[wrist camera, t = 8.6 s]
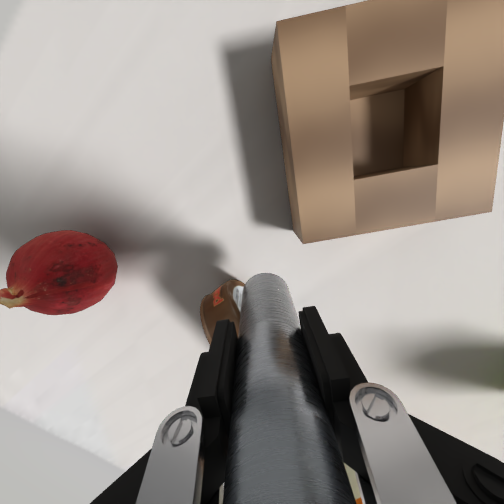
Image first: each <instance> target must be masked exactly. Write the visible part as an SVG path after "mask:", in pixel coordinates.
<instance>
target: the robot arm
mask: <svg viewBox="0 0 504 504" xmlns="http://www.w3.org/2000/svg"><path fill="white" fill-rule="evenodd" d="M299 319H300V326H301V331H302V335H303V338H304V341H305V344H306V347H307V351H308V354H309V357H310V360H311V363H312V366H313V370H314V373H315V376H316V379H317V382H318V386H319V389H320V392H321V395H322V398H323V402H324V405H325V408H326V410H327V413H328V415H329V418H330V422H331V425H332V428H333V431H334V434H335V437H336V440H337V444H338V447H339V450H340V453H341V456H342V459H343V462H344V463H345V464H346V465H348V466H349V467H350V468H352V469H353V470H354V471H355V476H356V480H357V483H358V487H359V491H360V495H361V499H362V503H363V504H504V463H503V462H501V461H499V460H498V459H496V458H494V457H492V456H490V455H488V454H486V453H484V452H482V451H480V450H478V449H476V448H474V447H472V446H470V445H468V444H467V443H465V442H463V441H461V440H459V439H457V438H455V437H453V436H451V435H449V434H447V433H445V432H443V431H441V430H439V429H437V428H435V427H433V426H431V425H429V424H427V423H425V422H423V421H421V420H419V419H417V418H415V417H413V416H411V415H409V414H408V413H407V411H406V410H405V408H404V406H403V404H402V402H401V401H400V399H399V398H398V397H397V395H396V394H394V393H393V392H392V391H391V390H390V389H388V388H386V387H384V386H382V385H379V384H376V383H368V381H367V379H366V378H365V376H364V374H363V372H362V370H361V369H360V367H359V365H358V363H357V361H356V360H355V358H354V356H353V354H352V353H351V351H350V349H349V347H348V345H347V344H346V342H345V340H344V338H343V337H342V335H341V334H340V333H335V334H328V332H327V330H326V328H325V326H324V324H323V322H322V319H321V317H320V315H319V313H318V311H317V309H316V307H315V306H311V307H304V308H303V311H299ZM237 345H238V336H237V332H236V328H235V324H234V322H230V320H229V319H225V320H219V321H217V322H216V326H215V329H214V333H213V337H212V341H211V345H210V349H209V352H204V353H202V354H201V355H200V358H199V361H198V365H197V368H196V371H195V375H194V378H193V382H192V385H191V388H190V392H189V395H188V398H187V402H186V405H185V407H181V408H178V409H176V410H175V411H173V412H171V413H170V414H169V415H168V416H167V417H166V418H165V419H164V420H163V421H162V423H161V424H160V426H159V428H158V430H157V433H156V436H155V440H154V443H153V446H152V449H151V450H149V451H148V452H147V453H146V454H145V455H144V456H143V457H142V458H140V459H139V460H138V461H137V462H136V463H135V464H134V465H133V466H131V467H130V468H129V469H128V470H127V471H126V472H125V473H124V474H122V475H121V476H120V477H119V478H118V479H117V480H116V481H115V482H113V483H112V484H111V485H110V486H109V487H108V488H107V489H106V490H104V491H103V493H101V494H100V495H99V496H98V497H97V498H96V499H94V500H93V501H92V502H91V503H90V504H222V503H223V492H224V486H223V483H224V482H225V471H226V461H227V450H228V439H229V429H230V419H231V409H232V398H233V387H234V377H235V366H236V355H237Z"/></svg>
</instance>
